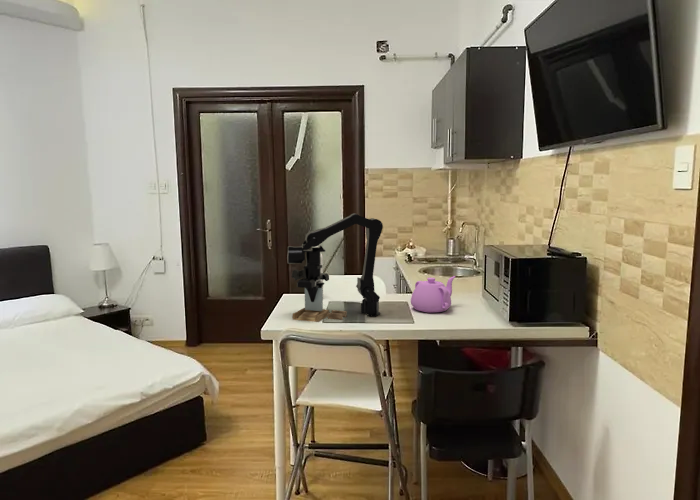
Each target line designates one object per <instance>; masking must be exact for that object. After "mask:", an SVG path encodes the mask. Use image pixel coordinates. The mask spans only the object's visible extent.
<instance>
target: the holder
mask: <svg viewBox="0 0 700 500" xmlns="http://www.w3.org/2000/svg"><path fill="white" fill-rule="evenodd" d="M347 316H348V314H347V311H345V310H335V309H334V310H332V309H331V312H329V313H328V316H327V320H336V321H337V320H338V321H343V320H344V318H347Z"/></svg>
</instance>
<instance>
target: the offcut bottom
mask: <svg viewBox="0 0 700 500" xmlns="http://www.w3.org/2000/svg"><path fill="white" fill-rule="evenodd" d="M299 319H305V320H316V318H311V317H301V316H299Z"/></svg>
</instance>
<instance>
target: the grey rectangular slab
mask: <svg viewBox="0 0 700 500" xmlns="http://www.w3.org/2000/svg"><path fill="white" fill-rule="evenodd" d="M323 301H324V287H323V288H318V290H317V294H316V297H315V300H314V302H311V300H310V297H309V293H308V291H307V289H306V288H304V308H305V310H313V311H322V310H323V309H324V304H323V303H324V302H323Z"/></svg>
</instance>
